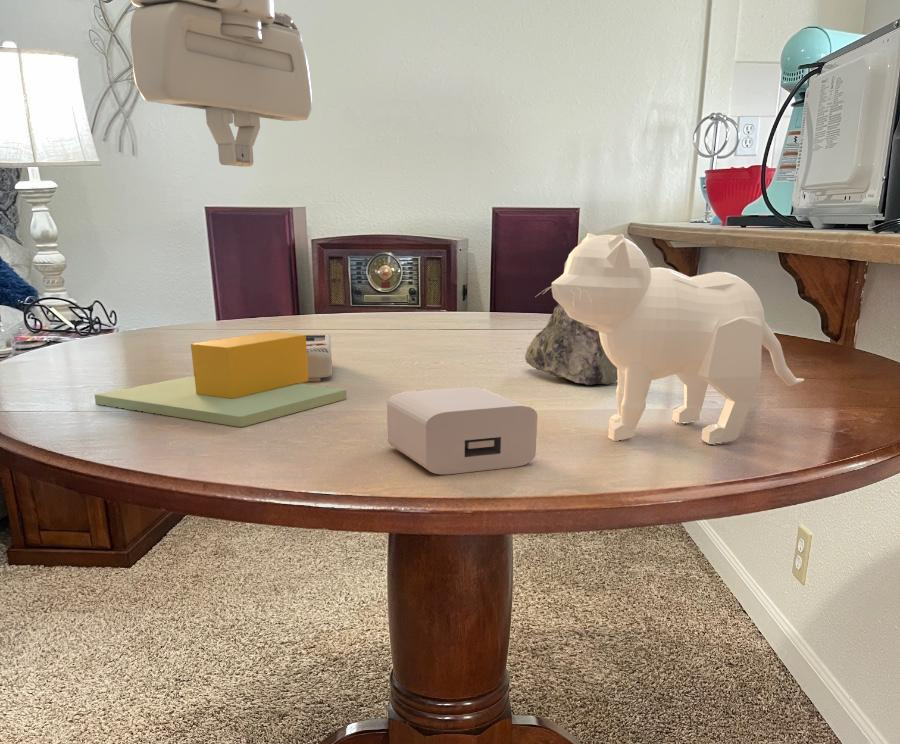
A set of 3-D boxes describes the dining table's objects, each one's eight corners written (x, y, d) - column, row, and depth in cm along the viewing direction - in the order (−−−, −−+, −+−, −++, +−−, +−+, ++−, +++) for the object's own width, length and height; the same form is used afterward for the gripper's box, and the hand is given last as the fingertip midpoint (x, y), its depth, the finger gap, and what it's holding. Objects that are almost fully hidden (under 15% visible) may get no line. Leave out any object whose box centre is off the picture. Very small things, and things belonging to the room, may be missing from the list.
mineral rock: (521, 369, 112) (524, 285, 108) (606, 368, 113) (612, 285, 109) (535, 387, 101) (538, 294, 97) (628, 387, 101) (636, 294, 97)
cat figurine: (765, 415, 87) (792, 231, 80) (827, 440, 78) (863, 234, 71) (520, 426, 83) (526, 232, 76) (554, 453, 73) (565, 234, 66)
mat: (95, 404, 91) (94, 394, 91) (209, 381, 104) (208, 372, 103) (241, 427, 82) (240, 416, 81) (346, 398, 94) (346, 389, 94)
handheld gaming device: (254, 383, 102) (252, 349, 101) (262, 363, 116) (261, 332, 114) (332, 383, 103) (331, 349, 102) (331, 363, 117) (330, 333, 115)
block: (190, 343, 89) (270, 331, 98) (195, 394, 91) (274, 377, 100) (227, 347, 87) (306, 334, 96) (231, 399, 89) (308, 381, 98)
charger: (459, 425, 82) (535, 464, 70) (364, 434, 79) (426, 477, 67) (460, 374, 81) (538, 404, 68) (363, 380, 77) (426, 413, 65)
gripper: (274, 20, 90) (282, 171, 96) (110, -24, 74) (131, 160, 80) (323, 15, 87) (329, 170, 93) (164, -33, 71) (182, 159, 77)
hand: (236, 165), depth 86 cm, fingers closed
